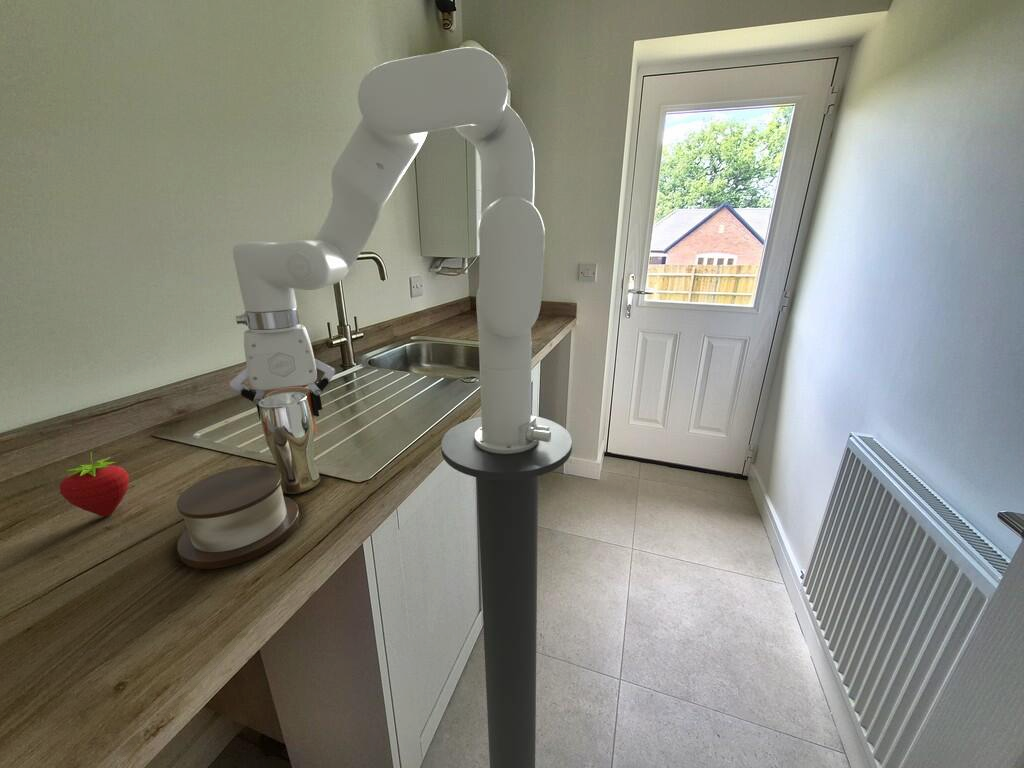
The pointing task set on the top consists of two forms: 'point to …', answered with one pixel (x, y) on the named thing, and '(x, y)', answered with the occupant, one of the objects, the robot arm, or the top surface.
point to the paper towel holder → (234, 517)
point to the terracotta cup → (301, 390)
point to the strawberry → (96, 487)
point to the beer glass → (290, 439)
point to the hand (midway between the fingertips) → (292, 417)
